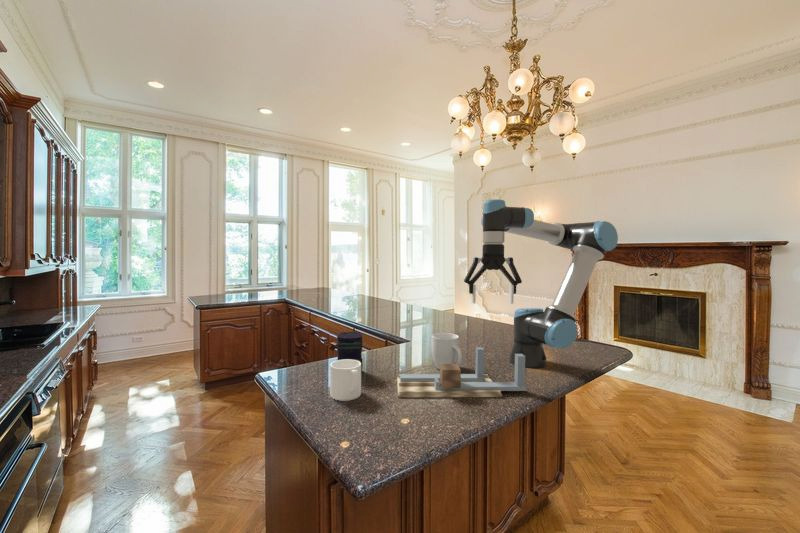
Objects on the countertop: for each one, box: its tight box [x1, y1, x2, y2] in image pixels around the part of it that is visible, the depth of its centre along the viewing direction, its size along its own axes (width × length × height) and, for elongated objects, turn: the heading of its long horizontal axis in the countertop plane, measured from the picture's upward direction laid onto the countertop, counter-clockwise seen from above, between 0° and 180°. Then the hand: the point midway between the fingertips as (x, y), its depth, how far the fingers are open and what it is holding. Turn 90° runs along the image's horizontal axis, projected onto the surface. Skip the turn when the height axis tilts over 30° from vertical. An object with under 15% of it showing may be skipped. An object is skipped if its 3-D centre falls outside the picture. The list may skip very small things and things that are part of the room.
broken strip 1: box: [400, 373, 440, 382], centre depth 126 cm, size 15×4×1 cm, turn 91°
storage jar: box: [336, 331, 364, 375], centre depth 136 cm, size 10×10×15 cm
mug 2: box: [430, 332, 463, 370], centre depth 141 cm, size 15×11×13 cm
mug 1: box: [329, 359, 362, 402], centre depth 115 cm, size 13×10×10 cm
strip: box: [434, 354, 527, 392], centre depth 118 cm, size 30×4×11 cm, turn 91°
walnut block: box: [439, 363, 462, 388], centre depth 118 cm, size 6×6×6 cm
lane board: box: [396, 373, 503, 398], centre depth 122 cm, size 34×16×2 cm, turn 91°
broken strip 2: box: [461, 346, 485, 382], centre depth 126 cm, size 11×4×11 cm, turn 91°
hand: (492, 303), depth 127 cm, fingers open, 13 cm apart
